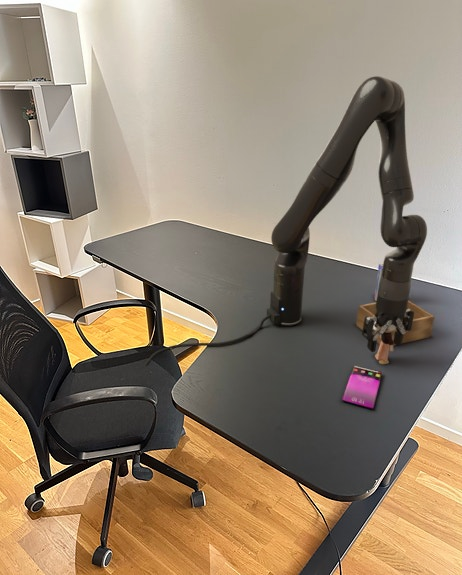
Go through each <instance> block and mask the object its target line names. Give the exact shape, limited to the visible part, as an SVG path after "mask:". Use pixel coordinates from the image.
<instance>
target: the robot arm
mask: <svg viewBox="0 0 462 575" xmlns="http://www.w3.org/2000/svg"><path fill="white" fill-rule="evenodd" d="M374 122H375V125H376V127H377V130H378V134H379V139H380V153H379V160H378V170H377V171H378V172H377V173H378V174H377V176H378V183H379V189H380V194H381V200H382V204H381V205H382V206H381V214H380V226H379V227H380V228H379V230H380V231H379V232H380V236H381V239H382V240H383V242H384V243H385V244H386V245H387V246H388V247H390V248H395V249H394V250H392V251H390V252H388V253H387V254H386V255H385V256H384V258H383V263H382V264H383V269H382V275H381V279H380V282H379V288H378V294H377V301H375V303H376V310H377V312H376V314H375V316H373V317H369V316H365V319H364V325H363V330H361V331H362V333H361V336H362V337H364V338H365V339H366V340H367V345H366V347H367V349H368V350H369V351H370V352H371V353H375V352H376V350H377V344H378V342H377V338H378V337H379V335H381V334H383V333H384V331H385V330H388V327H389V326H390V325H394V326H395V327H396V330H397V331H395V335H394V340H393V342H394V344H395V345H394V346H396V347H400V346H401V345H402V344H403V343H402V340H403V335H404V334H405V332H406V331H407V330H408V331H410V330H411V328H412V322H413V317H414V312H413V311H412V310H410V309H409V308H407V304H408V300H409V299H410V293H411V288H412V276H413V272H414V265H415V263H416V261H417V259H418V257H419V255H420V253H421V251H422V249H423V247H424V244H425V242H426V240H427V236H428V226H427V225H428V224H427V223H426V220H425V219H424V217H422V216H421V215H419V214H408V215H403V212H404V207H405V206H407V205H410V204H412V202H413V201H414V198H415V194H414V189H413V184H412V178H411V172H410V166H409V159H408V152H407V151H408V150H407V138H406V137H407V134H406V98H405V91H404V89H403V87H402V86H401V85H400V83H397V82H396V81H394V80H391V79H388V78H386V77H383V76H379V75H378V76H377V75H374V76H370V77H368V78H366V79H365V80H364V81H363V82H362V83H361V84H360V85H359V86H358V87H357V88H356V90H355V91H354V94H353V95H352V97H351V99H350V101H349V103H348V106H347V108H346V110H345V112H344V114H343V116H342V118H341V120H340V122H339V124H338V126H337V128H336V129H335V130H334V132H333V134H332V136H331V138H330V139H329V141H328V142H327V144H326V146H325V148H324V149H323V151H322V152H321V154H320V156H319V157H318V159H317V160H316V161H315V163H314V165H313V167H312V168H311V169H310V171H309V173H308V175H307V177H306V179H305V181H304V182H303V183H302V186H301V188H300V189H299V191H298V193H297V195H296V196H295V199H294V200H293V202H292V203H291V205H290V207H289V208H288V210H287V211H286V212H285V214H284V215H283V216H282V218H281V219H280V220H279V221H278V222H277V223H276V225H275V226H274V227H273V229H272V232H271V238H270V239H271V244H272V247H273V248H274V249H275V251H277V252H278V254H277V256H276V258H275V260H274V264H273V286H272V287H273V289H272V290H271V291H270V297H269V298H270V301H269V307H267V308H266V316H265V317H264V318H262V319H261V321H260V323H259V325H258V326H257V328H256V329H254V330H253V331H251V332H249V333H247V334H244V335H243V336H240V337H237V338H235V339H231V340H226V341H220V342H194V343H181V344H180V343H179V344H174V345H170V346H167V347H164V348H161V349H158V350H157V351H155V352H154V353H152V354H151V355H150V356H149V358H148V359H147V360H146V362H145V363H144V367H148V366H149V365H150V363H151V362H152V360H153V359H154V358H155V357H156V356H158V355H159V354H161V353H164V352H167V351H169V350H172V349H173V350H174V349H177V348H188V347H189V348H190V347H200V346H201V347H203V346H204V347H205V346H206V347H215V346H218V347H219V346H225V345H229V344H234V343H237V342H240V341H242V340H244V339H246V338H249V337H251V336H253V335H255V334H256V333H258V331H260V330H261V328H263V325H264V323H265V322H266V321H267V320H268V319H269V320H270V321H271V322H272V323H273V324H275V325H276V326H277V327H281V326H282V327H294V326H297V325H299V324H300V323H301V322H302V310H303V299H304V298H303V296H304V283H305V271H306V270H305V269H306V268H305V267H306V264H307V261H308V258H309V250H310V249H309V248H310V238H311V232H310V227H311V226H310V225H311V224H312V223H313V221H314V220H315V218H317V217H318V215H319V214H320V213H321V212H322V211H323V210H324V209H325V208H326V207H327V206H328V205H329V204H330V202H331V201H333V199H334V198H335V197H336V196H337V194H338V193H339V192H340V191H341V189H342V187H343V186H344V184H345V183H346V181H347V180H348V179H349V177H350V175H351V173H352V171H353V168H354V165H355V159H356V156H357V151H358V147H359V145H360V143H361V141H362V139H363V137H364V136H365V135H366V133H367V132H368V130H369V129H370V127H371V126H372V125H373V124H374ZM402 319H403V320H402ZM401 322H402V323H401ZM377 326H379V327H380V328H381V329H378V328H377ZM375 331H376V333H375V335H373V334H374V332H375ZM401 343H402V344H401Z"/></svg>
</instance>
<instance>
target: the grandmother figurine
mask: <svg viewBox="0 0 462 575" xmlns="http://www.w3.org/2000/svg"><path fill="white" fill-rule="evenodd" d="M395 329H396V327H395V326H394V325H390V326H389V327H388V330H385V331H384V333H383V334H381V335H380V338H381V343H380V344H379V345H378V346H379V347H378V350H377V353H376V354H375V355H374V358H375V359H376V360H377V361H378V363H379V364H380V365H387V364H389V363H390V362H389V360H388V358H389V352H391V353H392V352H394V346H395V345H394V343H393V339H392V335H391V331H392V330H395ZM393 345H394V346H393Z"/></svg>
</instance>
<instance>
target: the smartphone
mask: <svg viewBox="0 0 462 575" xmlns="http://www.w3.org/2000/svg"><path fill="white" fill-rule="evenodd" d="M382 376H383V372H382V371H380V370H376V369H371V368H368V367H364V366H359V365H353V367H352V370H351V373H350V376H349V379H348V382H347V384H346V388H345V390H344V392H343V396H342V398H341V400H342V402H344V403H347V404H351V405H354V406H358V407H361V408H366V409H369V410H373V409H374V407H375V402H376V399H377V395H378V391H379V387H380V383H381V379H382Z"/></svg>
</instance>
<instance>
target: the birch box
mask: <svg viewBox="0 0 462 575" xmlns="http://www.w3.org/2000/svg"><path fill="white" fill-rule="evenodd" d="M407 308H409V309H410V310H412V311H413V312H414V317H413V322H412V328H411V330H410V331H408V330H407V331H406V332H405V334H404V335H403V340H402V343H401V345H402V344H406V343H410V342H414V341H418V340H423V339H427V338H431V336H432V335H431V334H432V331H433V326H434V321H435V315H433V314H432V313H429V312H428V311H426V310H425V309H423V308H422V307H420V306H418V305H417V304H415V303H413V302H412V301H410V300H409V299H408V304H407ZM357 309H358V310H357V316H356V323H355V324H356V325H355V326H356V327H358V328H359V329H360V330H361V331H363V325H364V319H365V316H369V317H373V316H375V314H376V312H377V310H376V302H371V303H366V304H361V305H358V308H357ZM402 320H403V319H402ZM402 320H401V323H402ZM377 328H378V329H381V328H380V327H379V326H377ZM395 331H397V330H396V329H395V330H392V331H391V335H392V339H393V340H394V335H395ZM375 333H376V331H375V332H374V334H373V335H375ZM380 343H381V338H380V335H379V337H378V338H377V344H378V345H380ZM393 343H394V342H393ZM394 346H396V345H395V344H394V345H393V347H394Z"/></svg>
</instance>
